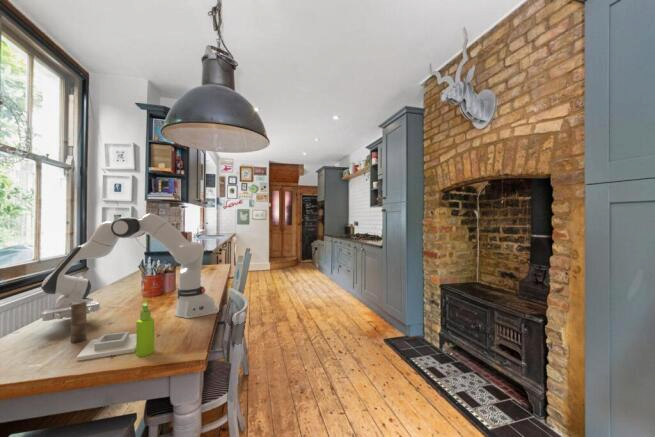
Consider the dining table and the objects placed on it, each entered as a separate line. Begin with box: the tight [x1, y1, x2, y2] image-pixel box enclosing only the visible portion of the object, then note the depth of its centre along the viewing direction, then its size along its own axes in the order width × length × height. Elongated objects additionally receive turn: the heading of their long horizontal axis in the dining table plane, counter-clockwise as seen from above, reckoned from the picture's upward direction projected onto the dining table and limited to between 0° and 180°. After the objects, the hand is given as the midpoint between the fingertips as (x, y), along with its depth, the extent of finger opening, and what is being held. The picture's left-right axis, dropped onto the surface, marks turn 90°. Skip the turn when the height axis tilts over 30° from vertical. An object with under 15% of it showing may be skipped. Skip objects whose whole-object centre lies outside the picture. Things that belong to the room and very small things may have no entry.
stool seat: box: [76, 331, 136, 362], centre depth 115 cm, size 18×16×4 cm
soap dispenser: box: [135, 301, 155, 357], centre depth 111 cm, size 6×7×20 cm
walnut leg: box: [70, 302, 87, 344], centre depth 121 cm, size 5×5×16 cm
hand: (74, 314), depth 129 cm, fingers open, 8 cm apart
